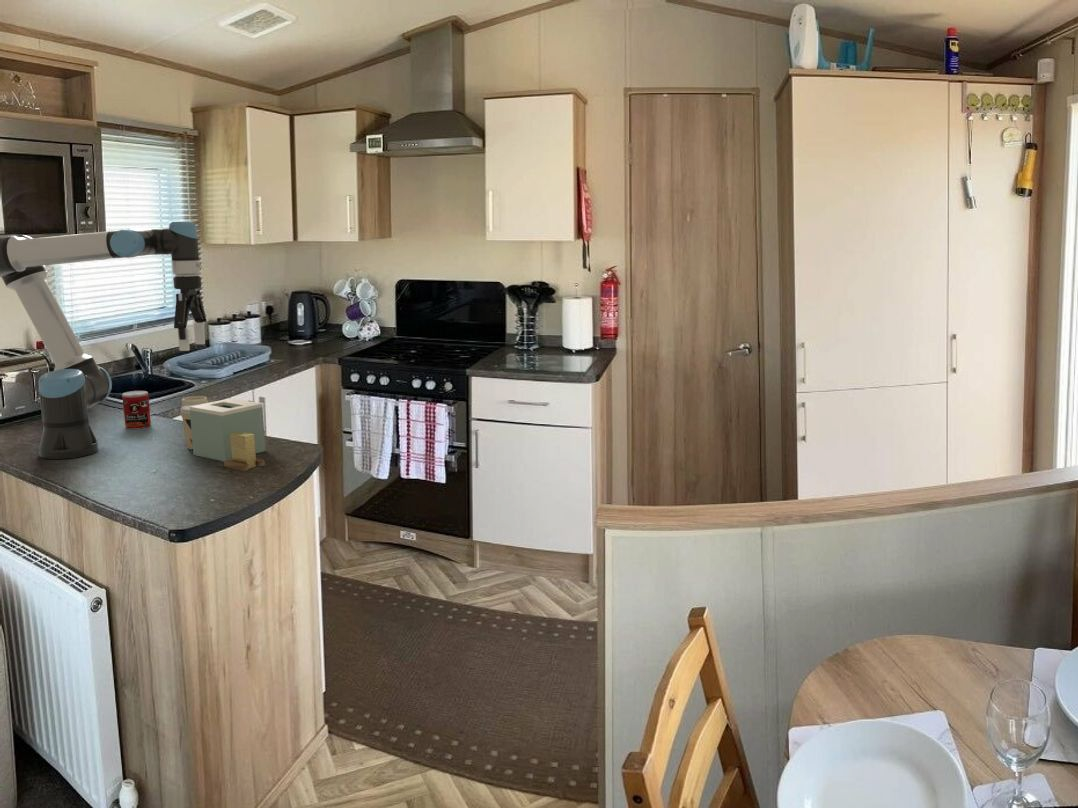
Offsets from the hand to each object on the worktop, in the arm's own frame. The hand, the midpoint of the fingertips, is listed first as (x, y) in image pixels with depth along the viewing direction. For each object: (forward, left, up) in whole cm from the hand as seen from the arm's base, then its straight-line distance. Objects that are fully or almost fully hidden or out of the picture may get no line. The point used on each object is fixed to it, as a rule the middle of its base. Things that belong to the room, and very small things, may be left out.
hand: (192, 347), depth 271 cm
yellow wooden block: (-12, -35, -28) cm, 47 cm away
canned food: (+1, +33, -29) cm, 44 cm away
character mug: (-1, 0, -28) cm, 29 cm away
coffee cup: (-5, -7, -29) cm, 30 cm away
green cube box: (-5, -20, -28) cm, 35 cm away
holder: (-12, -35, -28) cm, 47 cm away
